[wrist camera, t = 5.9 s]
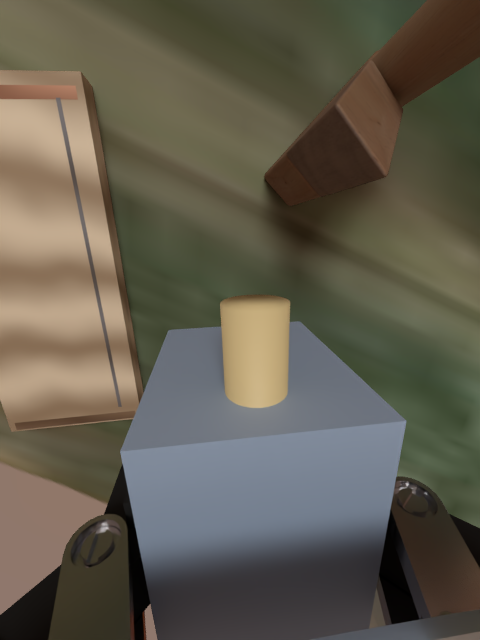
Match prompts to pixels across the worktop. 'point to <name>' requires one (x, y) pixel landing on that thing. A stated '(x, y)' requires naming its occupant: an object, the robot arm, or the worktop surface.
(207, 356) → the grey block on dowel
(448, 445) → the worktop surface
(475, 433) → the worktop surface
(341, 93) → the wooden block
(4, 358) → the maple board
